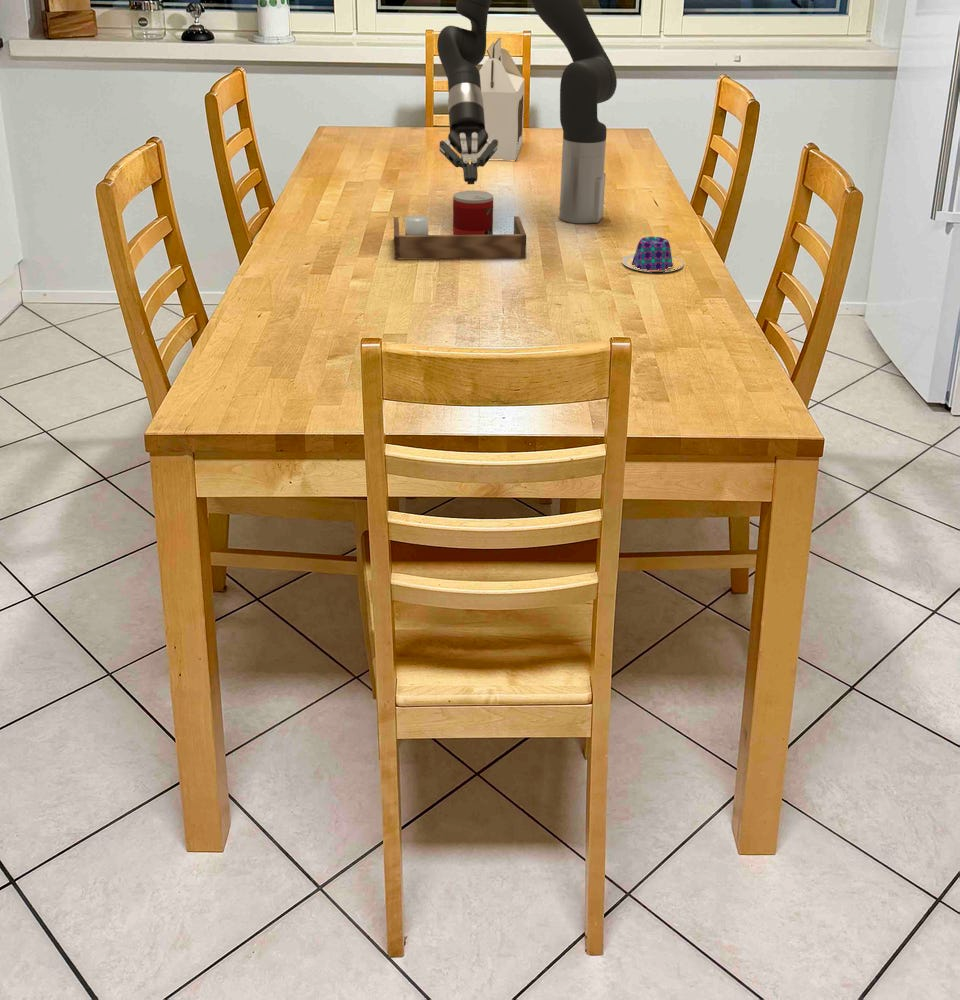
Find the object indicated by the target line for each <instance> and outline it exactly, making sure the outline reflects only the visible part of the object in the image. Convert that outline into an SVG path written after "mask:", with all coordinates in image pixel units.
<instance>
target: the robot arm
mask: <svg viewBox="0 0 960 1000" xmlns="http://www.w3.org/2000/svg"><path fill="white" fill-rule="evenodd" d="M530 2H531V4H532V7H533V10H535V13H536V14H537V15H538V17H539V18H540V19H541V20H542V21H543V22H544V24H545V25H546V26H547V27H548V28H549V29H550V30H551V31H552V32H553V33H554V34H555V35H556V36H557V37H558V38H559V40H560V41H561V42H562V43H563V45H564V47H565V48H566V50H567V52H568V53H569V55H570V58H571V60H572V62H570V63H568V65H567V66H566V67H565V68H564V69H563V72H562V74H561V79H560V85H559V87H560V88H559V121H560V125H561V128H562V132H563V133H562V152H561V153H562V154H561V155H562V157H561V172H560V173H561V176H560V177H561V178H560V193H559V214H558V215H559V216H558V217H559V219H560V220H562V221H563V222H567V223H570V224H571V223H573V224H592V223H593V224H594V223H595V224H598V223H600V222H601V220H602V218H603V217H604V208H605V207H604V205H605V204H604V203H605V192H606V191H605V190H606V189H605V188H606V173H605V164H606V163H605V160H606V159H605V158H606V147H607V145H606V144H607V132H608V131H607V130H608V129H607V126H606V124H605V123H603V122H601V121H599V118H598V104H602V103H604V102H606V101H609V100H610V99H612V97H614V95H615V92H616V91H617V90H616V89H617V85H618V83H617V82H618V81H617V75H616V70H615V68H614V66H613V64H612V62H611V60H610V58H609V56H608V55H607V52H606V51H605V49H604V48H603V46H602V44H601V42H600V41H599V39H598V37H597V35H596V33H595V31H594V29H593V27H592V25H591V23H590V20H589V18H588V16H587V13H586V12H585V10H584V6H583V5H582V3H581V0H530ZM491 4H492V0H456V3H455V10H456V12H457V13H458V14H459V15H460V16H462V17H465V18H466V19H468V20H469V21H470V25H471V26H470V27H471V28H470V29H471V30H469V29H467V28H462V27H459V26H456V25H447V26H445V27H443V28H442V29H441V31H440V32H439V34H438V37H437V42H436V43H437V44H436V45H437V54H438V58H439V61H440V62H441V65H442V68H443V71H444V74H445V75H446V78H447V87H448V88H447V90H448V99H447V108H448V109H447V112H448V121H449V122H448V123H449V133H448V136H447V139H445V140H440V141H439V147H438V148H439V152H440V153H441V155H443V156H444V157H445V158H446V159H447V160H448V161H449V162H450V164H452V165H453V166H454V167H455V168H461V169H462V172H463V181H464V182H466V183H467V185H475V183H477V181H478V168H479V167H482V168H483V167H485V165H486V164H487V163H488V162H489V161H488V160H489V159H490V158H491V157H492V155H493V154H494V153H495V152H496V150H497V147H498V140H496V139H494V140H492V139H490V138H489V137H488V133H487V132H486V130H485V119H484V106H483V98H482V93H481V82H480V73H479V71H480V69H479V68H478V67H477V66H478V65H479V64H481V63H482V61H483V60H484V57H485V55H486V53H487V28H488V27H487V26H488V24H487V23H488V16H489V15H488V14H489V9H490V6H491ZM485 144H487V145H486V150H485V151H484V152H483V153H482V154H481V156H480V157H479V158H477V153H479V152H480V151H481V149H482V148H483V147H484V145H485ZM455 151H456V152H455ZM457 153H458V154H457ZM459 154H460V156H459ZM468 154H471V160H469V157H468Z"/></svg>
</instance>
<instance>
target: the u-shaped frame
mask: <svg viewBox="0 0 960 1000" xmlns="http://www.w3.org/2000/svg"><path fill="white" fill-rule="evenodd" d="M513 217H514V218H513V234H512V233H510V234H509V233H508V234H507V233H505V234H502V233H501V234H499V233H497V234H494V233H493V234H490V235H453V234H428V235H405V234H404V235H403V234H401V235H400V222H399V219H400V218H399V216H396V217H395V216H394V217H393V243H394V244H393V245H394V246H393V248H394V259H395V258H467V259H526V257H527V233H526V231H525V228H524V225H523V223H522V220H521V218H520V216H519V215H517V216H516V215H514V216H513Z"/></svg>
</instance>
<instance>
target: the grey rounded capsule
mask: <svg viewBox="0 0 960 1000" xmlns="http://www.w3.org/2000/svg"><path fill="white" fill-rule="evenodd" d="M404 232H405V233H404V235H429V217H428V216H426V215H419V214H418V215H415V214H414V215H409V216H406V217H404Z"/></svg>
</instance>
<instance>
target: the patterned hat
mask: <svg viewBox="0 0 960 1000" xmlns="http://www.w3.org/2000/svg"><path fill="white" fill-rule="evenodd" d="M630 258H633V261H632V263H631V264H632V265H635V266H633V267H635V268H636V267H637V268H640V270H638V269H635V268H633V267H630V266H629V265H628V264H627V262H628V261H629V260H630ZM672 258H675V259H677V260H679V261H680V262H681V267H679V268H678V269H675V270H671V271H667V270H666V271H665V272H664V273H669V272H673V271H676V270H679V269H682V268H683V267H684V263H683V261H682V260H680V259H679V258H677V257H675V256H672V250H671V244H670V242H669V240H668V239H667V238H664V237H662V236H650V235H649V236H645V237H642V238H640V239H639V241H638V243H637V246H636V249H635V253H633V254H629V255H627V256H624V257H623V258H622V260H621V262H622V264H623V265H624V266H625V267H627V268H630V269H632V270H636V271H638V272H639V271H640V272H643V271H642V270H641V269H647V270H658V269H659V270H665V269H667V268H668V267H672V266H673V267H674V265H673V263H672ZM647 270H644V272H645V273H651V272H650V271H647Z"/></svg>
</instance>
